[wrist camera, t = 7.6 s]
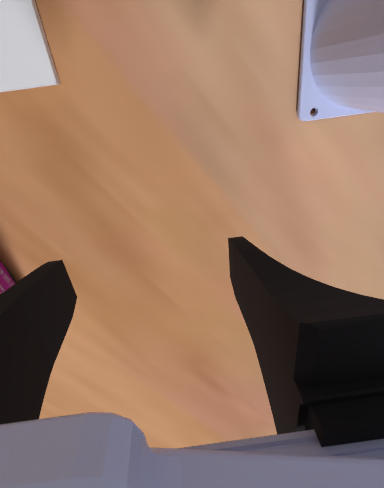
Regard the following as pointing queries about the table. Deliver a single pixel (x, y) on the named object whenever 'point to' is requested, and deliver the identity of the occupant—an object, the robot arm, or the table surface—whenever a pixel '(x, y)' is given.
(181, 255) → the table surface
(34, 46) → the pad
